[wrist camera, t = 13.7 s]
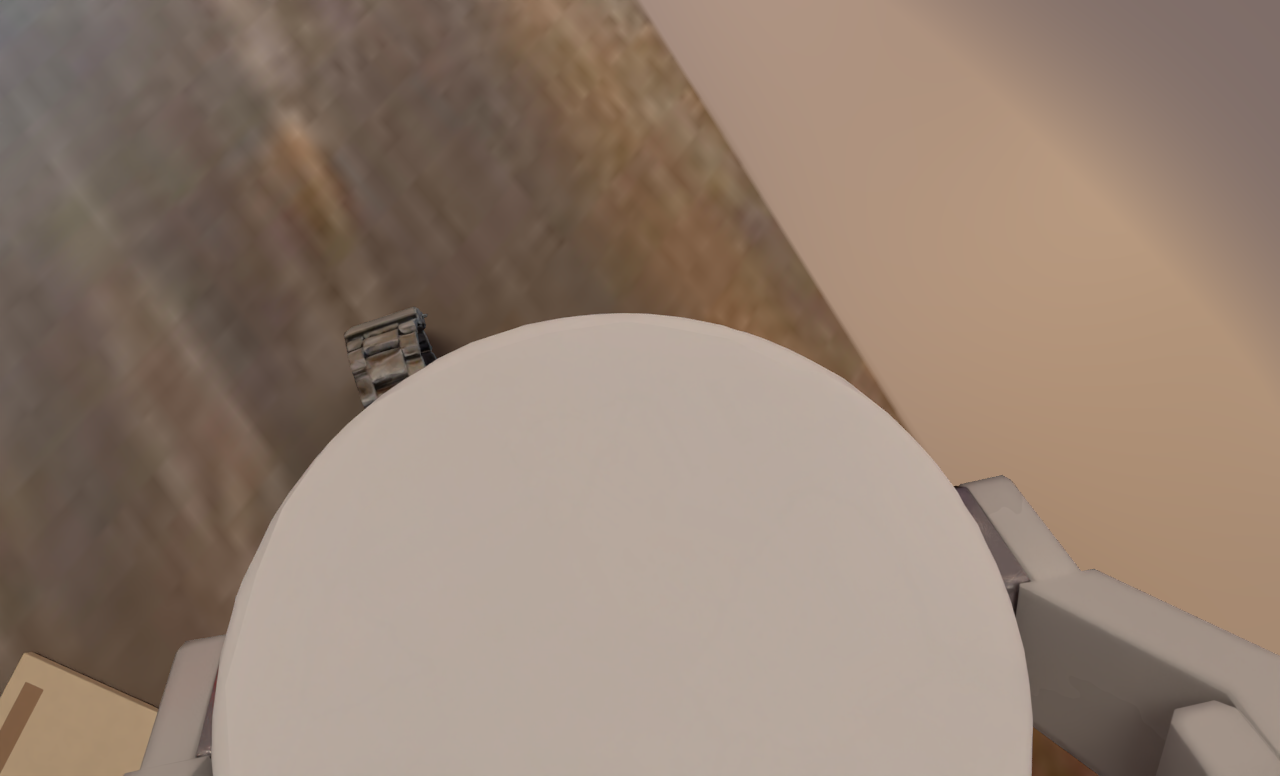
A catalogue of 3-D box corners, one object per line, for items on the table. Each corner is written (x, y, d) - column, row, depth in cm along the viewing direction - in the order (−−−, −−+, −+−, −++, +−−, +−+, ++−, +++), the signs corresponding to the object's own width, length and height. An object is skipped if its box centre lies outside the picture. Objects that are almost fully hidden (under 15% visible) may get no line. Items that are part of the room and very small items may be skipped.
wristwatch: (390, 443, 29) (410, 542, 25) (335, 289, 27) (346, 370, 22) (490, 412, 30) (525, 503, 26) (445, 258, 27) (477, 332, 23)
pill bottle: (690, 377, 17) (819, 18, 6) (876, 697, 16) (1409, 927, 5) (368, 552, 16) (-113, 490, 6) (542, 899, 15) (371, 1640, 5)
